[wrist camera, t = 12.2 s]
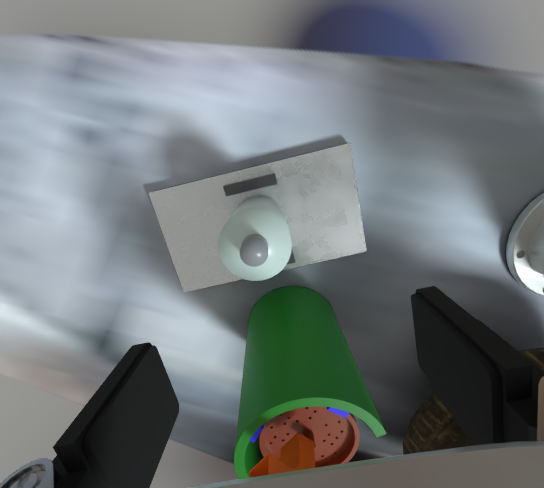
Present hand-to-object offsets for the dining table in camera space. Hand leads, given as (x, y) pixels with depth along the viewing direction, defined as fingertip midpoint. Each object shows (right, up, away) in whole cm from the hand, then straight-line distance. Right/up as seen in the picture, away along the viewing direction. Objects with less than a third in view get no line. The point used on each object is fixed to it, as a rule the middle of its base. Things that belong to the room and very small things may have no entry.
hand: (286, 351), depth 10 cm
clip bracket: (-2, +6, +20) cm, 21 cm away
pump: (-2, +6, +19) cm, 20 cm away
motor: (+1, -5, +24) cm, 24 cm away
